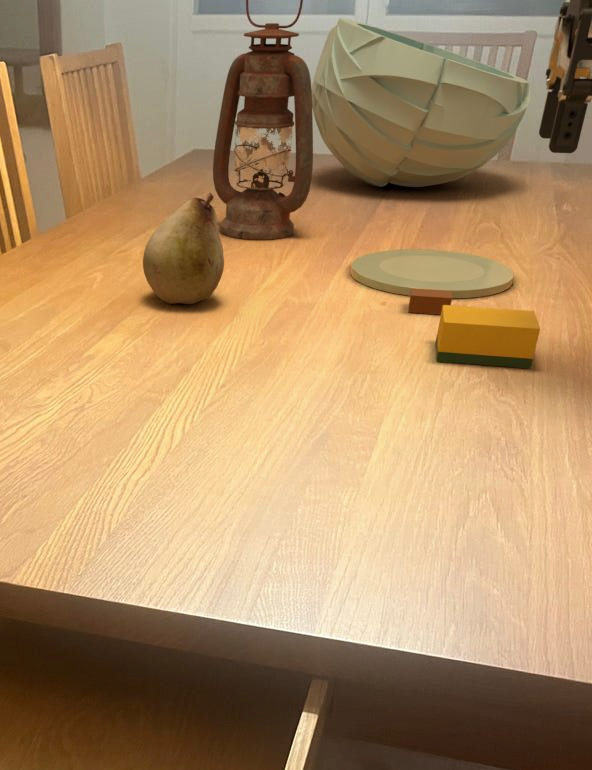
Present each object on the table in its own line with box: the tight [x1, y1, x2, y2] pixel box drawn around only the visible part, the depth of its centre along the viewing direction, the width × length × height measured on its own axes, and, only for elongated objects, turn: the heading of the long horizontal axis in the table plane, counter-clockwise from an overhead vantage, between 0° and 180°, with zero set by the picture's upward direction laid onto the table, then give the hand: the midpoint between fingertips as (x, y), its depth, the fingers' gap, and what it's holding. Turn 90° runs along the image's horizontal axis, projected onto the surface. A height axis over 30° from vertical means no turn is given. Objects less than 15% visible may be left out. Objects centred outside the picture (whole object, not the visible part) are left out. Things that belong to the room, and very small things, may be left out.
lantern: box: [212, 0, 314, 241], centre depth 134 cm, size 11×16×35 cm
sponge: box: [435, 304, 541, 370], centre depth 97 cm, size 9×6×4 cm, turn 75°
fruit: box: [142, 192, 225, 305], centre depth 112 cm, size 10×9×12 cm
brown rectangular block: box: [407, 288, 453, 316], centre depth 111 cm, size 4×3×2 cm, turn 75°
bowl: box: [311, 17, 531, 188], centre depth 167 cm, size 35×35×22 cm
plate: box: [350, 248, 515, 300], centre depth 123 cm, size 20×20×1 cm
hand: (555, 144), depth 85 cm, fingers open, 8 cm apart
